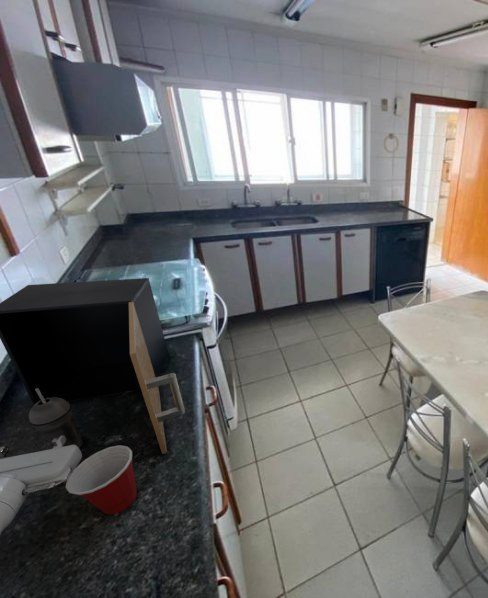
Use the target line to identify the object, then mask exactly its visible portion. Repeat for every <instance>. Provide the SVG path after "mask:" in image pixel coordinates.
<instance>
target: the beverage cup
mask: <svg viewBox="0 0 488 598" xmlns="http://www.w3.org/2000/svg"><path fill="white" fill-rule="evenodd" d="M35 390H36V392H37V394H38V395H39V397H40V399H41V401H39V402H37V403H36V404H35V405H34V404H33V406H32V407H31V408H30V410H29V412H28V421H29V424H30V425H31V426H32V427H34V428H35V429H36V430H37V431H39V433H40V434H41V435H42V436H43V437H44V438H45V439H46V441H47V442H48V443H49V444H50V445H51V446H52V447H53V444H52V443H51V442H52V440H53V439H54V437H58V436H63V435H64V436H65V438H66V442H65V443H64V445H63V447H64V446H69V445H76V446H77V447H78V448H79V449H80V447H82V445H83V439H82V436H81V433H80V431H79V428H78V426H77V423H76V421H75V418H74V416H73V409H72V408H73V407H72V405H71V403H68V402H67V401H65V400H64V399H61V398H57V397H51V398H46V399H44V397H43V396H42V394H41V392H40V391H39V389H38V388H36V389H35Z"/></svg>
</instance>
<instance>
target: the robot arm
mask: <svg viewBox="0 0 488 598" xmlns="http://www.w3.org/2000/svg"><path fill="white" fill-rule="evenodd" d="M65 442H66V438H65V436H64V435H63V436H58V437H54V439H53V440H52V442H51V443H52V444H53V446H52V448H49V449H44V450H39V451H35V452H30V453H24V454H23V453H22V454H18V455H13V456H9V457H7V455H9V453H10V448H8V446H7V445H5V446H0V536H1V535H2V533H3V531H4V530H5V529H6V528H7V527H8V526H9V525H10V524H11V523H12V522H13V520H14V519H15V517H16V515H17V514H18V512H19V511H20V509H21V507H22V506H23V504H24V503H25V501H26V500H27V498H28V496H29V494H30V495H31V494H34V493H38V492H42V491H48V490H52V489H55V488H56V487H57V486H58V485H61V484H63V483H66V482H67V479H68V478H69V476H70V475H71V473H72V472H73V470H74V469H75V468H76V467H77V466H78V465H79V464H80V462H81V460H82V458H83V454H82V451H81V449H80V447H79V448H78V447H77V446H76V445H69V446H64V447H63V445H64V443H65Z"/></svg>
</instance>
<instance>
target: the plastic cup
mask: <svg viewBox="0 0 488 598" xmlns="http://www.w3.org/2000/svg"><path fill="white" fill-rule="evenodd" d="M65 483H66V484H65V489H66V491H68V493H69V494H72V495H78V496H80V497H81V498H84V499H85V500H87V501H88V502H89V503H90V504H92V505H93V506H94V507H96V508H97V509H98V510H100V511H101V512H102V513H104V514H105V515H114V514H116V515H117V514H119V513H121V512H123V511H125V510H126V509H127V508H129V507H130V506H131V505H132V504H133V503H134V501H135V500H136V498H137V496H138V490H137V485H136V484H137V481H136V476H135V472H134V466H133V450H132V449H131V448H130V447H129V446H126V445H114V446H109V447H106V448H104V449H102V450H99V451H97V452H95V453H94V454H92V455H90V456H89V457H87V458H86V459H84V460H82V461H81V463H79V464H78V465H77V466H76V468H75V469H74V470H73V472H72V473H71V474H70V476H69V478H68V479H67V480H66V482H65Z"/></svg>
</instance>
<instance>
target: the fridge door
mask: <svg viewBox="0 0 488 598" xmlns="http://www.w3.org/2000/svg"><path fill="white" fill-rule="evenodd" d="M129 341H130V357H131V360H132V363H133V366H134V373H135V376H136V378H137V381H138V384H139V387H140V390H141V394H142V396H143V400H144V403H145V406H146V409H147V412H148V415H149V418H150V421H151V424H152V427H153V430H154V433H155V436H156V439H157V443H158V445H159V449H160V451H161V454H162V455H165V454H166V452H167V453H168V450H167V442H166V434H165V427H164V421H167V420H170V419H172V418H176V417H179V416H181V415H184V414H185V413H186V409H185V405H184V401H183V397H182V393H181V390H180V387H179V382H178V379H177V375H176V373H174V372H172V373H167V374H164V375H161V376H160V377H157V378H156V377H155V374H154V371H153V367H152V364H151V361H150V357H149V354H148V350H147V347H146V344H145V340H144V337H143V334H142V330H141V327H140V323H139V320H138V317H137V313H136V310H135V307H134V303H133V302H129ZM168 384H169V387H170V391H171V394H172V397H173V401H174V404H175V407H173V408H170V409H167V410H164V411H162V404H161V396H160V388H159V387H161V386H165V385H168Z"/></svg>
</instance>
